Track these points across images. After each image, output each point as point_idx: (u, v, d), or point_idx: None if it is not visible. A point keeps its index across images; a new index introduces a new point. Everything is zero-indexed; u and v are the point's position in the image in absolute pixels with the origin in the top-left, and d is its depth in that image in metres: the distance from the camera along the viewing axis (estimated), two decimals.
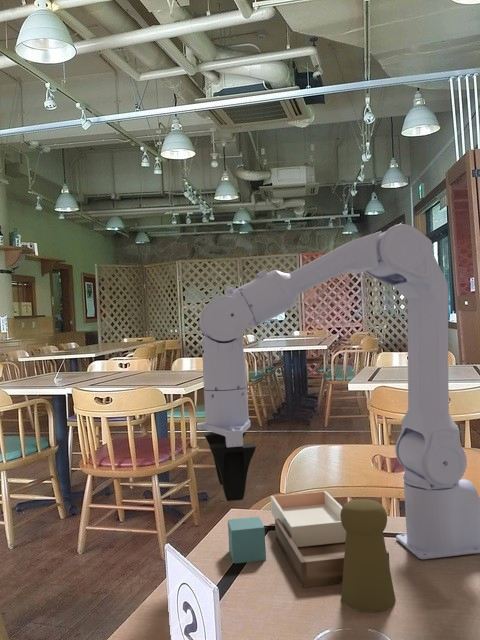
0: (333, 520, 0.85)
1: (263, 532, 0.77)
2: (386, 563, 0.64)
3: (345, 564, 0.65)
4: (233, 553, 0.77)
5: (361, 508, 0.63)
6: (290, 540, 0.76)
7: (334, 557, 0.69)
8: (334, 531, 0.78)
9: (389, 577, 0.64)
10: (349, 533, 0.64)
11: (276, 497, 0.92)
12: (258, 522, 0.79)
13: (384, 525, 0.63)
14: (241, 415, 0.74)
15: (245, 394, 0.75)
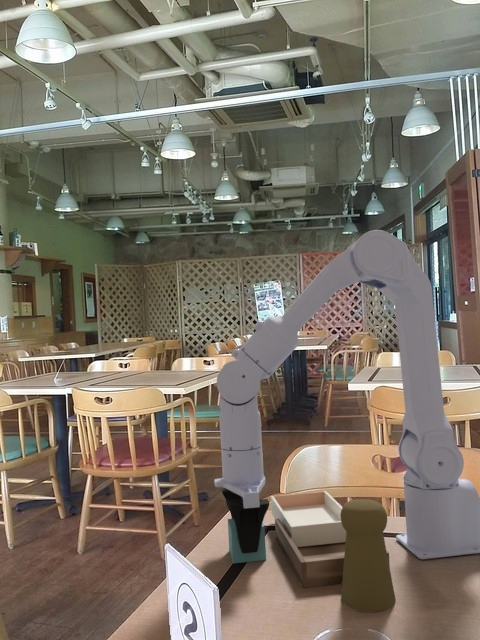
0: (333, 520, 0.85)
1: (263, 531, 0.77)
2: (386, 563, 0.64)
3: (345, 564, 0.65)
4: (233, 552, 0.77)
5: (361, 508, 0.63)
6: (290, 540, 0.76)
7: (334, 557, 0.69)
8: (334, 531, 0.78)
9: (389, 577, 0.64)
10: (349, 533, 0.64)
11: (276, 497, 0.92)
12: None
13: (384, 525, 0.63)
14: (257, 473, 0.77)
15: (260, 453, 0.78)
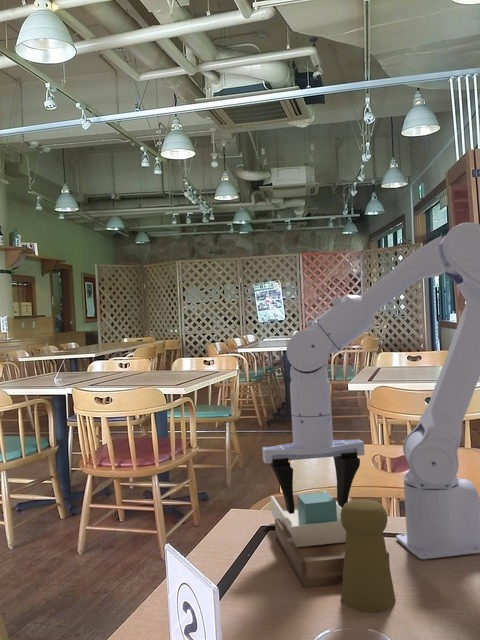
0: None
1: (304, 508, 0.80)
2: (386, 563, 0.64)
3: (345, 564, 0.65)
4: (298, 516, 0.84)
5: (361, 508, 0.63)
6: (290, 540, 0.76)
7: (334, 557, 0.69)
8: (334, 531, 0.78)
9: (389, 577, 0.64)
10: (349, 533, 0.64)
11: (276, 497, 0.92)
12: (319, 501, 0.80)
13: (384, 525, 0.63)
14: (299, 440, 0.80)
15: (305, 423, 0.79)
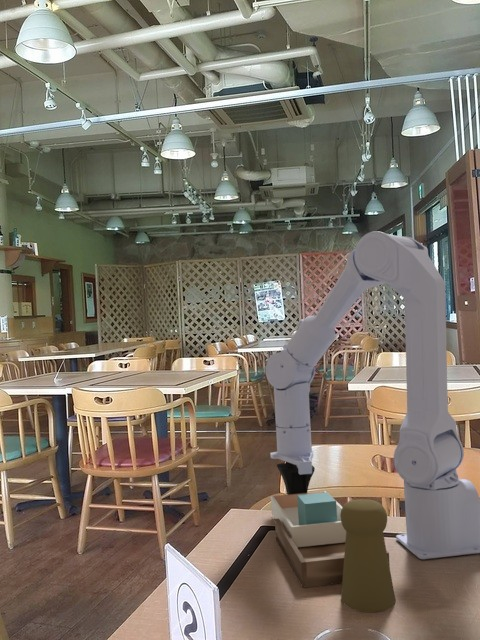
0: None
1: (304, 508, 0.79)
2: (386, 563, 0.64)
3: (345, 564, 0.65)
4: (299, 516, 0.84)
5: (361, 508, 0.63)
6: (290, 540, 0.76)
7: (334, 557, 0.69)
8: (334, 531, 0.78)
9: (389, 577, 0.64)
10: (349, 533, 0.64)
11: (276, 497, 0.92)
12: (319, 501, 0.80)
13: (384, 525, 0.63)
14: (307, 447, 0.92)
15: (309, 430, 0.93)
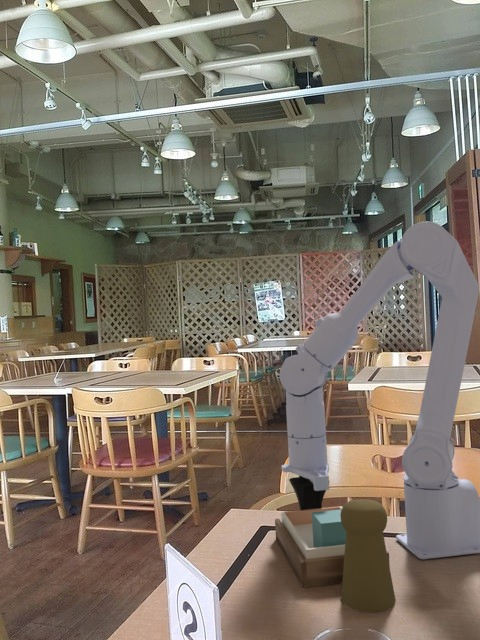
0: None
1: (320, 528, 0.71)
2: (386, 563, 0.64)
3: (345, 564, 0.65)
4: (313, 536, 0.76)
5: (361, 508, 0.63)
6: (290, 540, 0.76)
7: (334, 557, 0.69)
8: None
9: (389, 577, 0.64)
10: (349, 533, 0.64)
11: (287, 513, 0.84)
12: (336, 520, 0.72)
13: (384, 525, 0.63)
14: (323, 459, 0.83)
15: (325, 440, 0.84)
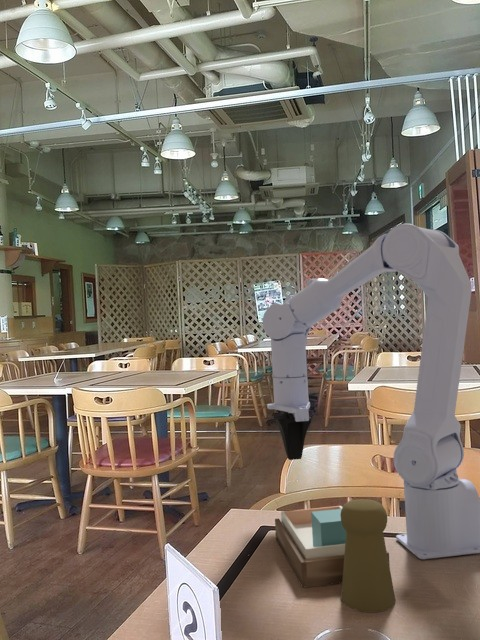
0: None
1: (320, 527, 0.72)
2: (386, 563, 0.64)
3: (345, 564, 0.65)
4: (313, 535, 0.76)
5: (361, 508, 0.63)
6: (290, 540, 0.76)
7: (334, 557, 0.69)
8: None
9: (389, 577, 0.64)
10: (349, 533, 0.64)
11: (287, 513, 0.84)
12: (336, 520, 0.72)
13: (384, 525, 0.63)
14: (304, 397, 0.93)
15: (306, 381, 0.94)
